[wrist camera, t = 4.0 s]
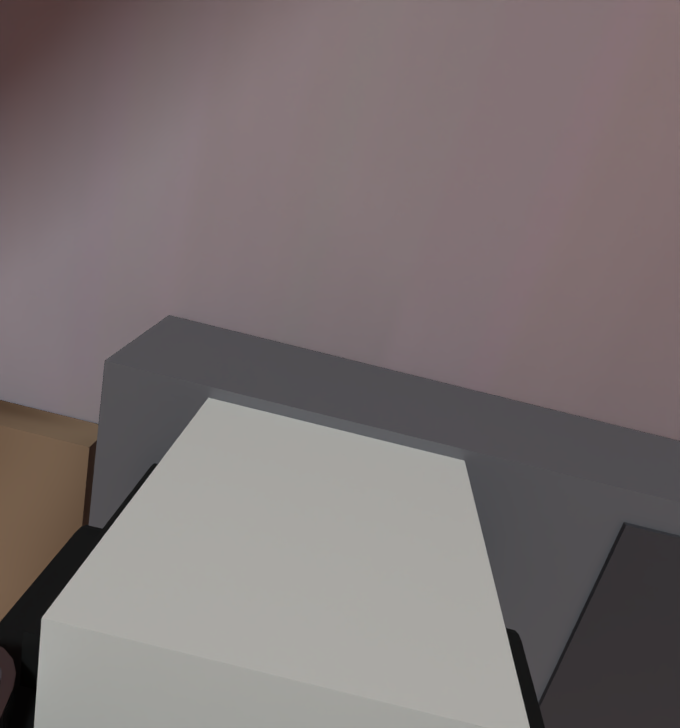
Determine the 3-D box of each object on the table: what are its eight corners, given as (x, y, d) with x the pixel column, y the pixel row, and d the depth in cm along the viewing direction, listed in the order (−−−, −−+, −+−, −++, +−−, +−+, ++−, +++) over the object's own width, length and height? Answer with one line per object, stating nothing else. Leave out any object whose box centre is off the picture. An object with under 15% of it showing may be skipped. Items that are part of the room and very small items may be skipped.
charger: (452, 411, 12) (533, 738, 5) (382, 626, 14) (374, 1066, 7) (237, 358, 12) (41, 618, 5) (197, 581, 14) (16, 977, 7)
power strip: (941, 505, 13) (1159, 642, 9) (803, 706, 15) (936, 884, 11) (168, 315, 13) (80, 377, 9) (137, 542, 15) (55, 667, 11)
